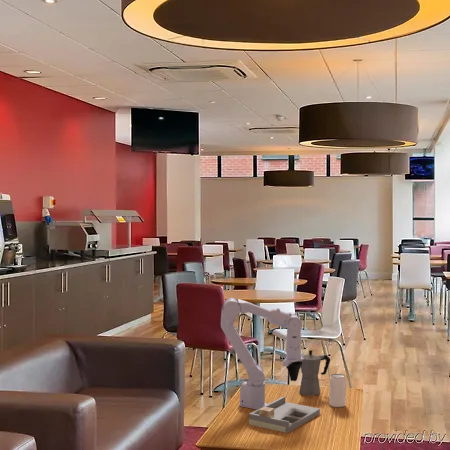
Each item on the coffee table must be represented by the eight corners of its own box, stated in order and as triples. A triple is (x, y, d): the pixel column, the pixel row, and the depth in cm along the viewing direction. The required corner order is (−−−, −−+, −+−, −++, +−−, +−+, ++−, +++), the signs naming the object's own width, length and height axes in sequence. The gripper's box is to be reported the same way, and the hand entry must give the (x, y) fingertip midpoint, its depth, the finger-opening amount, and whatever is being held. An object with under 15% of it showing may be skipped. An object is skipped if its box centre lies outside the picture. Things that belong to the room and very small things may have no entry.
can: (345, 408, 290) (346, 378, 289) (328, 407, 291) (329, 377, 291) (346, 403, 296) (346, 373, 296) (329, 402, 298) (330, 372, 297)
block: (259, 420, 268) (259, 409, 268) (264, 417, 272) (264, 406, 271) (268, 422, 266) (268, 411, 266) (274, 419, 270) (274, 408, 269)
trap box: (248, 424, 270) (249, 413, 269) (282, 406, 291) (283, 396, 291) (287, 433, 261) (288, 422, 261) (319, 413, 283) (320, 403, 283)
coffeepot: (298, 396, 305) (299, 353, 304) (291, 390, 314) (292, 348, 313) (333, 394, 308) (334, 352, 307) (325, 388, 317) (326, 346, 316)
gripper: (294, 351, 282) (294, 386, 283) (311, 344, 294) (311, 377, 295) (277, 349, 285) (277, 383, 286) (295, 341, 298) (295, 375, 299)
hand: (293, 380), depth 291 cm, fingers closed
